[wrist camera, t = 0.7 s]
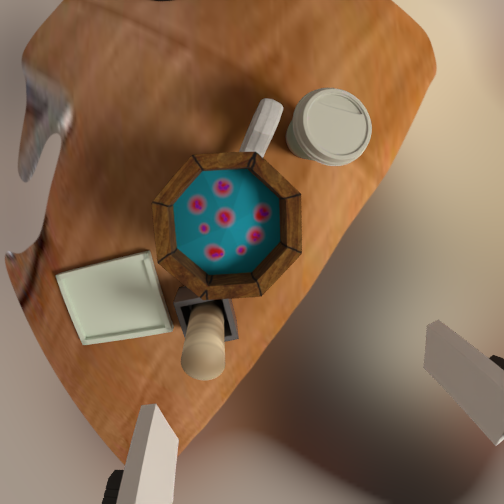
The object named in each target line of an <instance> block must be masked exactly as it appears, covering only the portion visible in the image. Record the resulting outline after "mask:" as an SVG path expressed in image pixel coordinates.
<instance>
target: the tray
mask: <svg viewBox="0 0 504 504" xmlns="http://www.w3.org/2000/svg"><path fill="white" fill-rule="evenodd" d="M56 279H57V282H58V284H59V287H60V290H61V293H62V296H63V298H64V301H65V304H66V306H67V309H68V311H69V314H70V316H71V319H72V321H73V324H74V326H75V328H76V331H77V333H78V335H79V337H80V340H81V342H82V344H83V345H88V344H96V343H103V342H110V341H117V340H124V339H130V338H137V337H143V336H149V335H155V334H161V333H167V332H172V331H173V328H174V326H173V323H172V320H171V317H170V314H169V311H168V308H167V305H166V302H165V299H164V296H163V293H162V290H161V286H160V283H159V280H158V276H157V273H156V270H155V266H154V263H153V259H152V256H151V252H150V250H149V251H145V252H141V253H137V254H133V255H129V256H124V257H120V258H116V259H112V260H108V261H104V262H100V263H96V264H92V265H88V266H84V267H81V268H77V269H73V270H69V271H65V272H61V273H59V274H57V275H56Z"/></svg>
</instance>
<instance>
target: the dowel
mask: <svg viewBox="0 0 504 504" xmlns="http://www.w3.org/2000/svg"><path fill="white" fill-rule="evenodd" d="M181 365H182V368H183V370H184V371H185V372H186V373H187V374H188V375H189V376H191V377H192V378H195V379H198V380H211V379H214V378H216V377H218V376H219V375H220V374H221V373H222V372H223V370H224V368H225V343H224V306H223V302H222V300H221V299H217V300H211V301H206V302H202V303H197V304H192V309H191V313H190V318H189V323H188V327H187V332H186V337H185V342H184V347H183V352H182V357H181Z"/></svg>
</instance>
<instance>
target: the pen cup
mask: <svg viewBox="0 0 504 504" xmlns="http://www.w3.org/2000/svg"><path fill="white" fill-rule="evenodd" d="M221 300H222V302H223V306H224V342H225V341H230V340H235V339H239V338H238V329H237V320H236V316H235V312H234V308H233V304H232V300H231V299H221ZM206 301H211V300H202V299H201V298H200V297H198V296H197V295H196V294H195V293H193V292H192V291H191V290H190V289H188V288H187V287H186V286H184V287H179V289H178V292H177V294H176V297H175V300H174V302H173V304H174V307H175V310H176V313H177V316H178V319H179V322H180V325H181V328H182V331H183V334H184V337H186V332H187V327H188V323H189V318H190V313H191V309H192V304H197V303H202V302H206Z"/></svg>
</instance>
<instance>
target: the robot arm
mask: <svg viewBox="0 0 504 504" xmlns="http://www.w3.org/2000/svg"><path fill="white" fill-rule="evenodd" d="M156 1H170V0H156ZM424 369H425V370H426V371H427V372H428V373H429V374H430V375H431V376H432V377H433V378H434V379H435V380H436V381H437V382H438V383H439V384H440V386H442V388H443V389H444V390H445V391H446V392H447V393H448V394H449V395H450V396H451V397H452V398H453V399H454V400H455V401H456V402H457V404H459V406H460V407H461V408H462V409H463V410H464V411H465V412H466V413H467V414H468V416H469V417H470V418H471V419H472V420H473V421H474V422H475V423H476V424H477V426H478V427H479V428H480V429H481V430H482V431H483V432H484V433H485V434H486V436H487V437H488V438H489V439H490V440H491V441H492V442H493V443H494V445H495V446H497V445H498V444H499V443H500V442H501V441H503V440H504V359H503V358H501V357H498V356H495V355H493V356H491V357H490V358H488V357H486V356H485V355H484V354H483V353H481V352H480V351H479V350H478V349H476V348H475V347H474V346H472V345H471V344H470V343H468V342H467V341H466V340H464V339H463V338H462V337H461V336H459V335H458V334H457V333H456V332H454V331H453V330H451V329H450V328H449V327H448V326H446V325H445V324H443V323H442V322H441V321H439V320H437V321H435V322H433V323H431V324H428V325H427V332H426V346H425V357H424ZM178 442H179V439H178V438H177V436H176V435H175V433H174V432H173V430H172V429H171V427H170V426H169V424H168V422H167V421H166V419H165V418H164V416H163V414H162V413H161V411H160V409H159V408H158V406H157V404H149V405H141V409H140V412H139V416H138V419H137V423H136V426H135V430H134V434H133V437H132V441H131V445H130V449H129V453H128V456H127V460H126V464H125V468H124V470H115V471H114V472H113V473H112V474H111V476H110V477H109V478H108V482H107V486H106V490H105V493H104V498H103V501H102V504H173V492H174V481H175V470H176V460H177V451H178Z"/></svg>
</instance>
